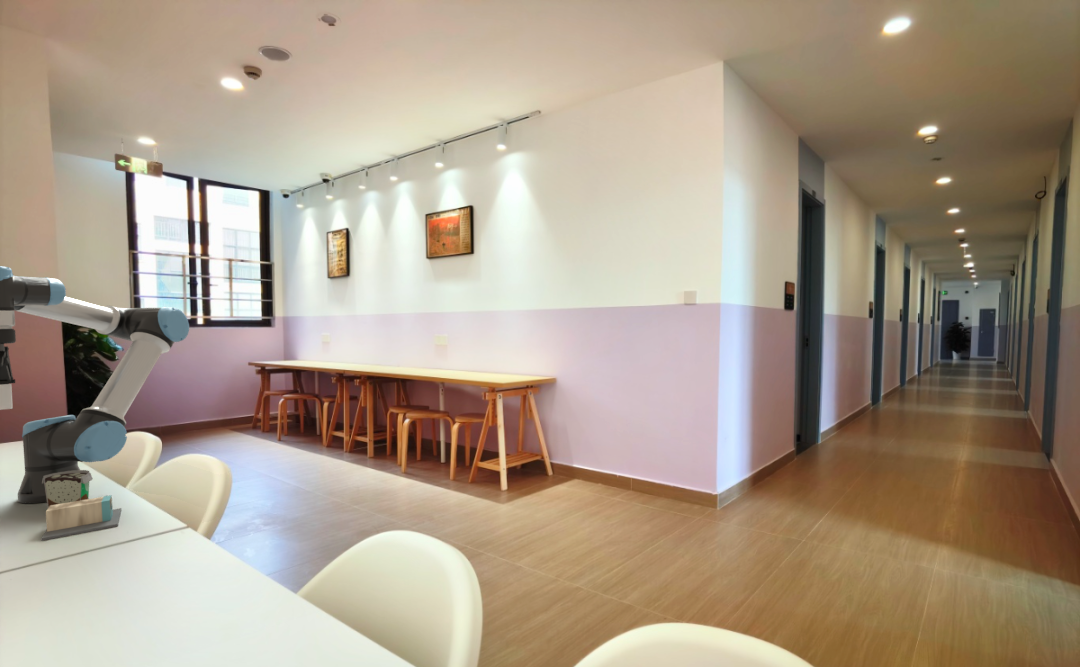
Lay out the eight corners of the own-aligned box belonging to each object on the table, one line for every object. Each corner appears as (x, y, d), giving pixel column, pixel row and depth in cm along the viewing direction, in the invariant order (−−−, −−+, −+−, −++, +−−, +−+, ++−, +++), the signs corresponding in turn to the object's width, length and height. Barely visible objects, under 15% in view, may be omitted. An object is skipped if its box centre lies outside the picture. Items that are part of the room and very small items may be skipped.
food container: (105, 505, 149) (104, 469, 149) (85, 513, 143) (83, 476, 142) (65, 504, 150) (64, 469, 150) (43, 512, 144) (41, 475, 144)
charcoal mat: (51, 522, 136) (51, 520, 136) (121, 510, 144) (121, 508, 144) (41, 540, 125) (41, 538, 125) (117, 526, 133) (117, 523, 133)
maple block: (50, 505, 133) (111, 495, 139) (51, 525, 133) (112, 514, 140) (45, 511, 128) (109, 500, 135) (47, 532, 129) (110, 520, 135)
